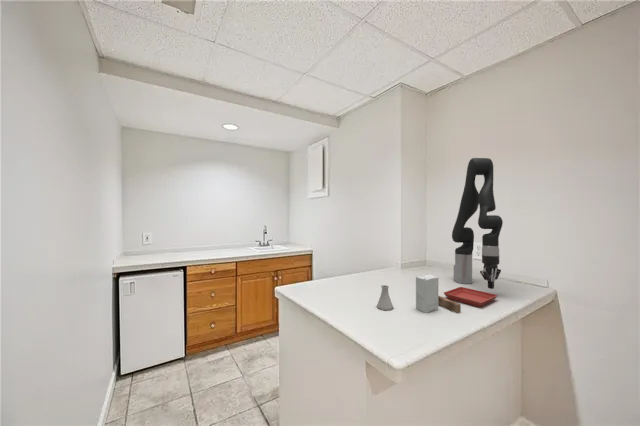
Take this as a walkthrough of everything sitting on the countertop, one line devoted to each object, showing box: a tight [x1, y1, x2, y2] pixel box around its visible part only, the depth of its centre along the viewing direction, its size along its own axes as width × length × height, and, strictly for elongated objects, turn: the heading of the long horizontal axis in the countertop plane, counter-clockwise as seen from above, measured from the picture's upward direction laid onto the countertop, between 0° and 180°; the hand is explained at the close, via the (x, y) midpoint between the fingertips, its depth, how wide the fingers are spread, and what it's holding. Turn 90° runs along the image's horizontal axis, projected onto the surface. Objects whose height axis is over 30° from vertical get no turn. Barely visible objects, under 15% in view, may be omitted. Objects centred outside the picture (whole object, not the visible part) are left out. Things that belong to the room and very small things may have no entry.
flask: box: [375, 284, 394, 311], centre depth 122 cm, size 7×7×10 cm
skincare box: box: [415, 274, 439, 314], centre depth 120 cm, size 8×6×15 cm
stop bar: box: [438, 295, 462, 314], centre depth 125 cm, size 20×2×4 cm, turn 22°
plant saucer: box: [443, 286, 498, 308], centre depth 132 cm, size 18×18×3 cm
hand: (490, 288), depth 137 cm, fingers closed
